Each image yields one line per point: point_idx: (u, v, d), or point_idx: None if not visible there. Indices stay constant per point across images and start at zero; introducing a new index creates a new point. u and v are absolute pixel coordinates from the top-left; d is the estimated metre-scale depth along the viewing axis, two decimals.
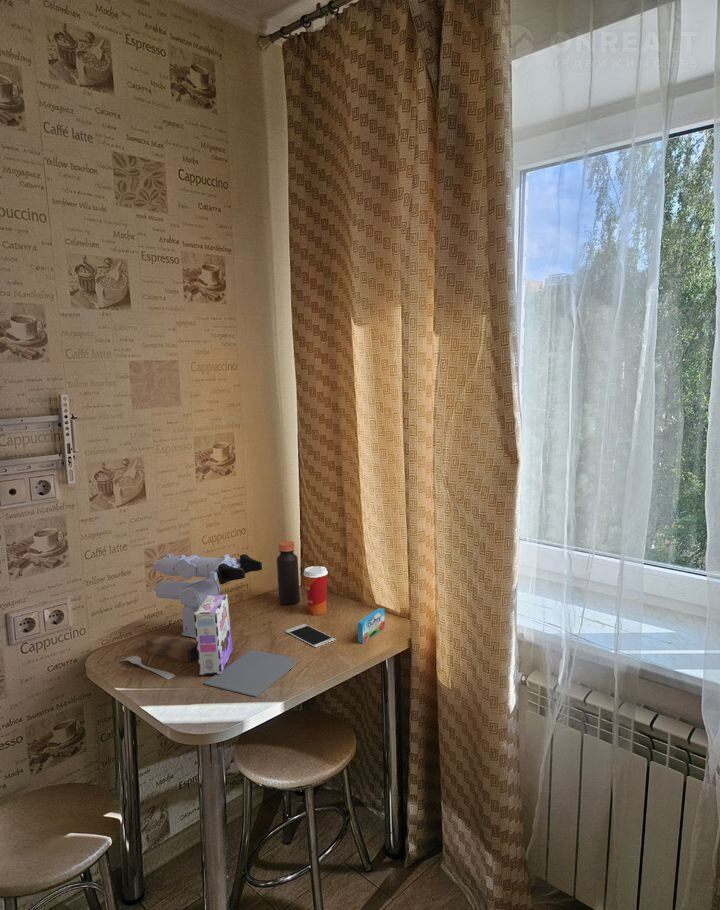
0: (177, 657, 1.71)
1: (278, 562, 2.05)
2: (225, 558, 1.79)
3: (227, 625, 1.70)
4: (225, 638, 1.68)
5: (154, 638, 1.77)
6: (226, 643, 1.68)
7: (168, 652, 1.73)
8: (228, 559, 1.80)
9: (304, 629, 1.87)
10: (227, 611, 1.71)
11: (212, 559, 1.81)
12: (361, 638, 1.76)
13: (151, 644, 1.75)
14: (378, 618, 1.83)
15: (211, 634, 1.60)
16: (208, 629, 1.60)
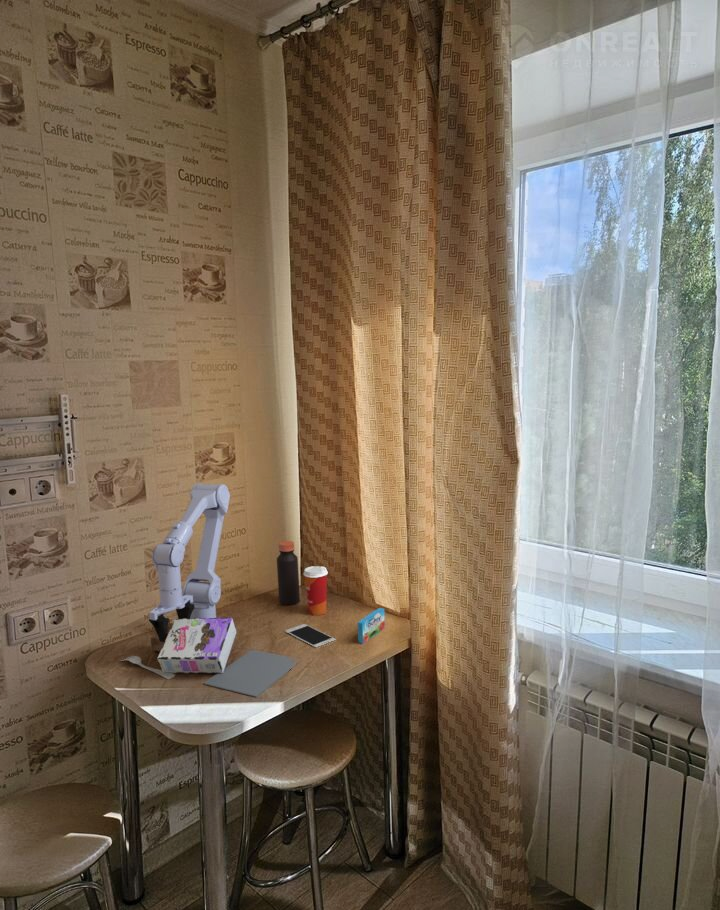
0: None
1: (278, 562, 2.05)
2: None
3: (197, 627, 1.69)
4: (203, 635, 1.66)
5: None
6: (209, 634, 1.66)
7: None
8: None
9: (304, 629, 1.87)
10: (186, 623, 1.70)
11: (175, 591, 1.70)
12: (361, 638, 1.76)
13: (157, 641, 1.75)
14: (378, 618, 1.83)
15: (179, 663, 1.61)
16: (175, 665, 1.62)
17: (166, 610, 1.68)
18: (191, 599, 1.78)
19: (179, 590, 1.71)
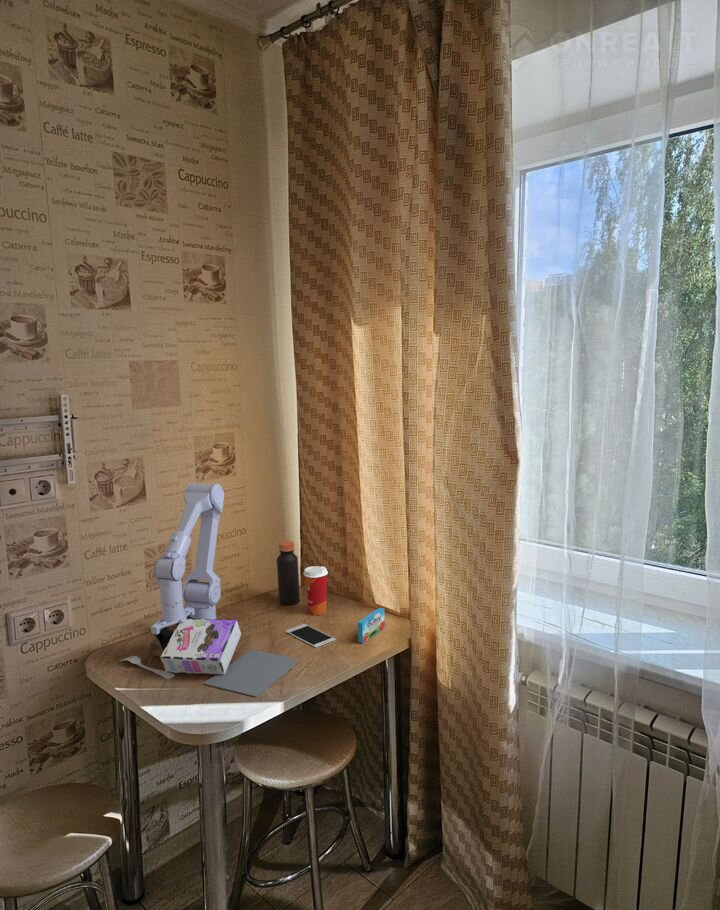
0: None
1: (278, 562, 2.05)
2: None
3: (202, 627, 1.68)
4: (206, 636, 1.66)
5: (158, 640, 1.75)
6: (212, 635, 1.66)
7: None
8: None
9: (304, 629, 1.87)
10: (192, 623, 1.70)
11: (177, 604, 1.70)
12: (361, 638, 1.76)
13: (156, 646, 1.74)
14: (378, 618, 1.83)
15: (181, 663, 1.61)
16: (177, 664, 1.61)
17: (168, 624, 1.69)
18: (193, 612, 1.78)
19: (181, 604, 1.71)
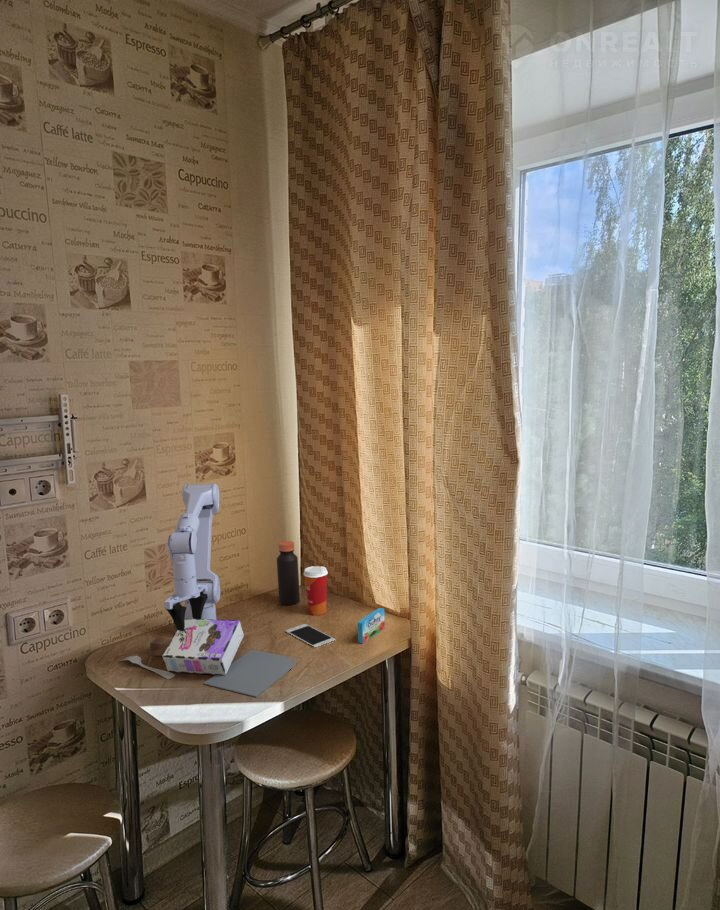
0: None
1: (278, 562, 2.05)
2: None
3: (204, 627, 1.69)
4: (209, 636, 1.66)
5: (158, 640, 1.76)
6: (215, 635, 1.66)
7: None
8: None
9: (304, 629, 1.87)
10: (195, 623, 1.71)
11: (190, 579, 1.67)
12: (361, 638, 1.76)
13: (157, 646, 1.74)
14: (378, 618, 1.83)
15: (183, 662, 1.61)
16: (179, 664, 1.62)
17: (181, 599, 1.65)
18: (206, 588, 1.75)
19: (194, 579, 1.68)
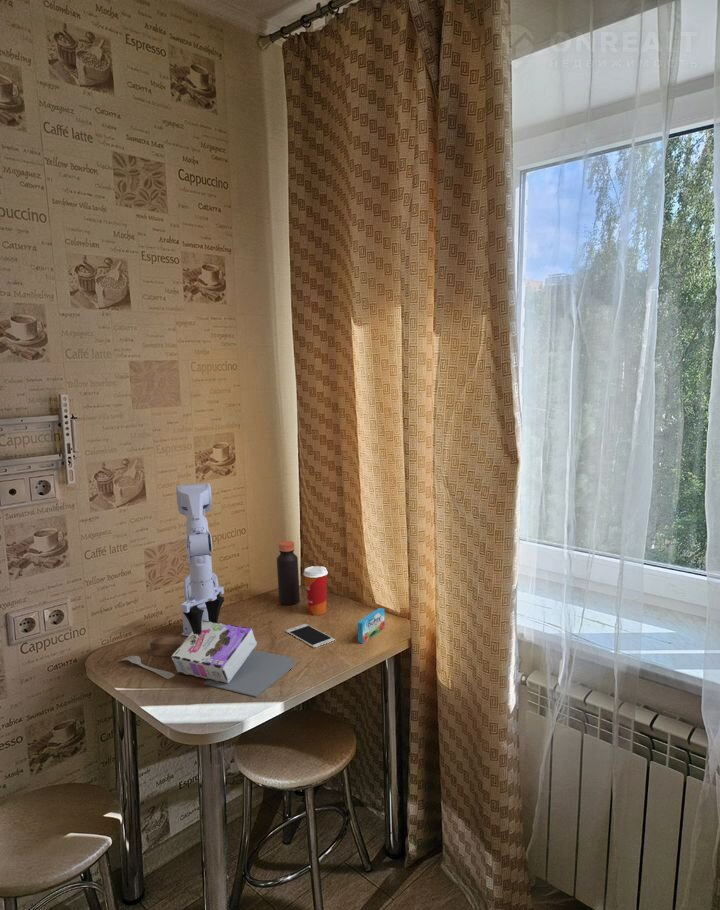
0: None
1: (278, 562, 2.05)
2: None
3: (217, 632, 1.66)
4: (218, 641, 1.62)
5: (158, 640, 1.76)
6: (224, 641, 1.62)
7: None
8: None
9: (305, 628, 1.87)
10: (210, 626, 1.68)
11: (207, 582, 1.64)
12: (361, 638, 1.76)
13: (157, 646, 1.74)
14: (378, 618, 1.83)
15: (189, 665, 1.59)
16: (186, 666, 1.60)
17: (198, 602, 1.63)
18: (222, 591, 1.72)
19: (211, 581, 1.65)
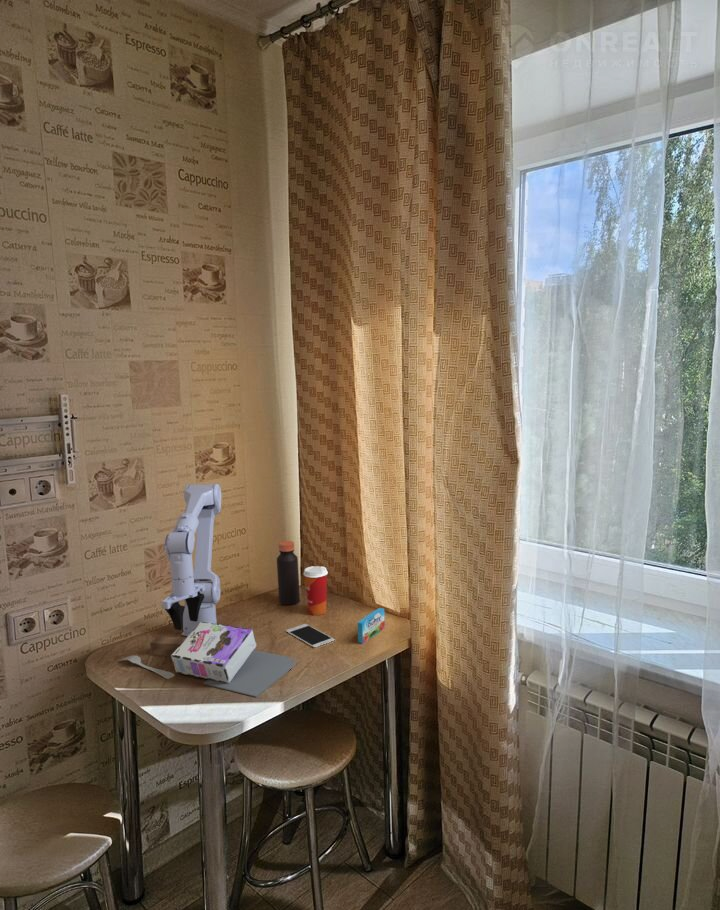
0: None
1: (278, 562, 2.05)
2: (191, 596, 1.68)
3: (217, 632, 1.66)
4: (219, 642, 1.63)
5: (158, 640, 1.76)
6: (225, 641, 1.63)
7: None
8: None
9: (305, 628, 1.87)
10: (209, 627, 1.69)
11: (188, 579, 1.67)
12: (361, 638, 1.76)
13: (157, 646, 1.74)
14: (378, 618, 1.83)
15: (189, 664, 1.59)
16: (186, 665, 1.60)
17: (179, 599, 1.66)
18: (203, 587, 1.75)
19: (191, 578, 1.68)
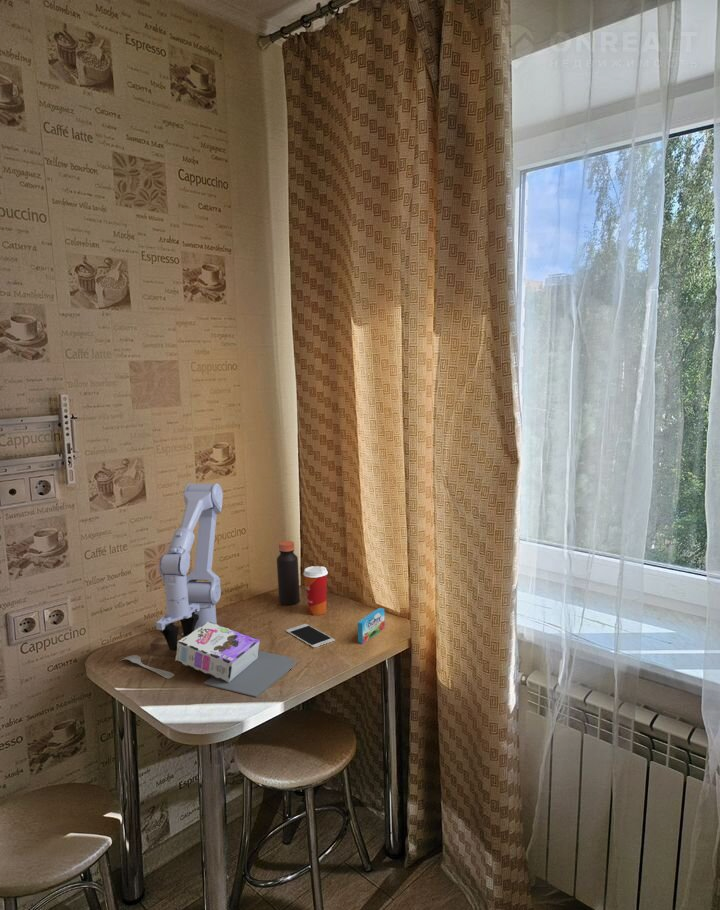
0: None
1: (278, 562, 2.05)
2: None
3: (225, 634, 1.68)
4: (226, 642, 1.64)
5: (158, 640, 1.76)
6: (232, 643, 1.64)
7: None
8: None
9: (305, 628, 1.87)
10: (217, 628, 1.70)
11: (182, 600, 1.69)
12: (361, 638, 1.76)
13: (157, 646, 1.74)
14: (378, 618, 1.83)
15: (194, 654, 1.59)
16: (189, 655, 1.60)
17: (173, 620, 1.67)
18: (198, 608, 1.77)
19: (186, 600, 1.70)
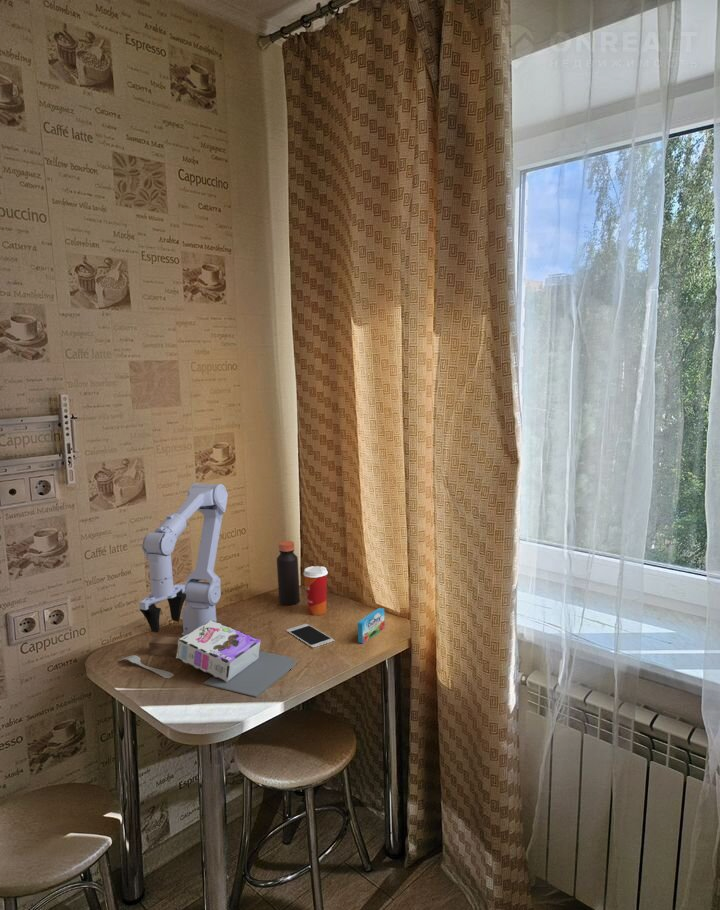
0: None
1: (278, 562, 2.05)
2: (170, 597, 1.67)
3: (226, 633, 1.68)
4: (227, 641, 1.65)
5: (157, 639, 1.76)
6: (233, 642, 1.65)
7: None
8: None
9: (305, 628, 1.87)
10: (219, 627, 1.71)
11: (167, 580, 1.66)
12: (360, 638, 1.76)
13: (156, 646, 1.74)
14: (378, 618, 1.83)
15: (194, 652, 1.60)
16: (189, 653, 1.61)
17: (157, 600, 1.65)
18: (183, 588, 1.74)
19: (170, 579, 1.68)
